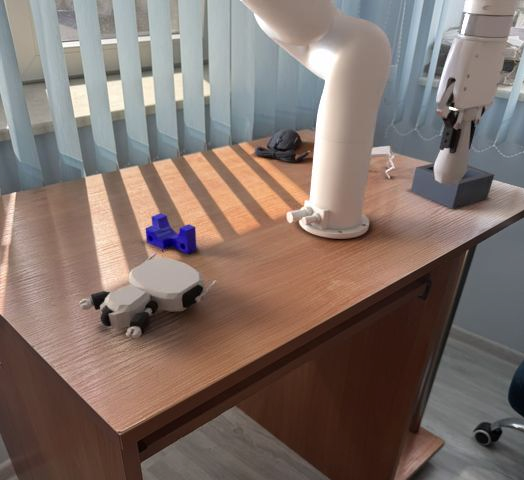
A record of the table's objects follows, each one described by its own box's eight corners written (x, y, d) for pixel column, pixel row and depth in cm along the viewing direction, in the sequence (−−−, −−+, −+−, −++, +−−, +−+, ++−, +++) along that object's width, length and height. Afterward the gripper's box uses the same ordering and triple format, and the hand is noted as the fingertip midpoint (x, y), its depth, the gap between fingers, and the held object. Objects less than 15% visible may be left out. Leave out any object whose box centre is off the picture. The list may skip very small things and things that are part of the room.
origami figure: (389, 183, 112) (393, 160, 109) (352, 176, 115) (355, 153, 112) (404, 168, 121) (408, 146, 118) (369, 161, 124) (373, 140, 121)
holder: (452, 209, 102) (458, 183, 99) (410, 191, 109) (415, 167, 106) (487, 198, 107) (494, 174, 104) (445, 182, 114) (451, 159, 111)
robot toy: (138, 359, 63) (222, 302, 72) (131, 330, 60) (220, 274, 69) (77, 321, 69) (162, 272, 78) (69, 292, 66) (157, 246, 75)
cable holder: (147, 242, 86) (144, 219, 84) (162, 235, 88) (160, 213, 86) (180, 257, 82) (179, 233, 80) (196, 249, 85) (195, 226, 82)
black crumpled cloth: (327, 147, 132) (328, 130, 130) (296, 165, 120) (297, 147, 117) (284, 139, 137) (285, 123, 134) (250, 156, 124) (250, 138, 122)
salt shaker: (460, 176, 97) (480, 100, 89) (466, 187, 92) (488, 108, 84) (428, 174, 97) (445, 99, 89) (433, 185, 93) (451, 106, 85)
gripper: (496, 23, 86) (467, 138, 98) (430, 27, 79) (406, 150, 90) (537, 28, 82) (501, 148, 93) (470, 33, 74) (439, 163, 85)
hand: (454, 148), depth 91 cm, fingers closed on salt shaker, 3 cm apart
